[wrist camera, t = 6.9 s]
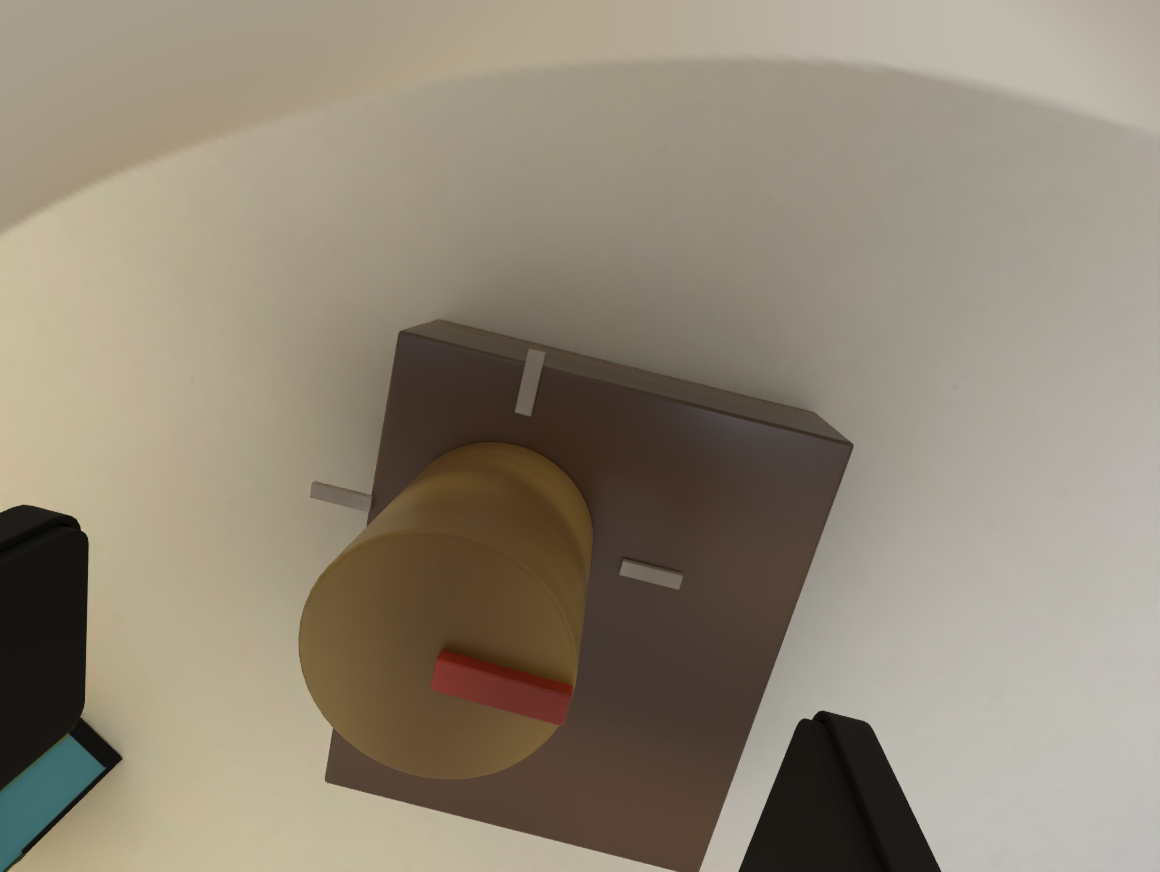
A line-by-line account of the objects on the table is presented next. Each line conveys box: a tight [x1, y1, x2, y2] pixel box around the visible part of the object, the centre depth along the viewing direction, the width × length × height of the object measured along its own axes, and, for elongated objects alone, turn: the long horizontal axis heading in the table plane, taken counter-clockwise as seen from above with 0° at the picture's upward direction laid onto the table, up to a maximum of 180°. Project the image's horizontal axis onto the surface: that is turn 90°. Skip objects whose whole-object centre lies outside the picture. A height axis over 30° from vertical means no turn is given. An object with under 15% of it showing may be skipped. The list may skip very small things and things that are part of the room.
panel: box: [310, 320, 853, 872], centre depth 17 cm, size 12×11×3 cm
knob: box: [299, 442, 593, 779], centre depth 13 cm, size 4×4×5 cm
